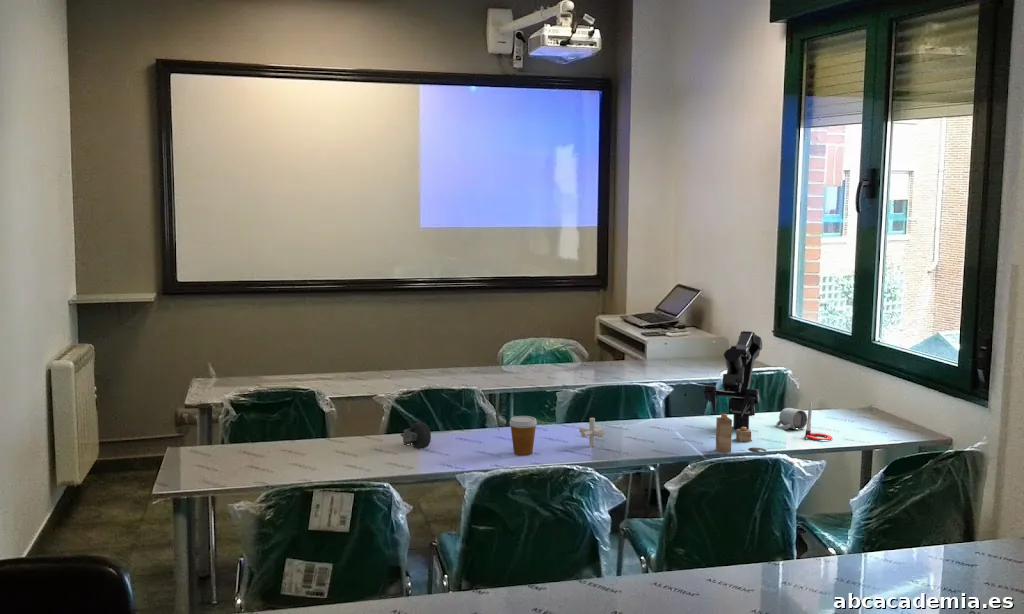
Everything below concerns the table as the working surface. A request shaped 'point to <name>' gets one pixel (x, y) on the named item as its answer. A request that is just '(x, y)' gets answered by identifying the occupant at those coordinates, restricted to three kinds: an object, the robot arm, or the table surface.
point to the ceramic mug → (792, 419)
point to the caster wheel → (417, 435)
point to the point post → (723, 434)
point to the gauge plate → (754, 448)
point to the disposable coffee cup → (523, 434)
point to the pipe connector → (592, 432)
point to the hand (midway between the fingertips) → (727, 414)
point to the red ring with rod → (808, 428)
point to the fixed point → (743, 434)
